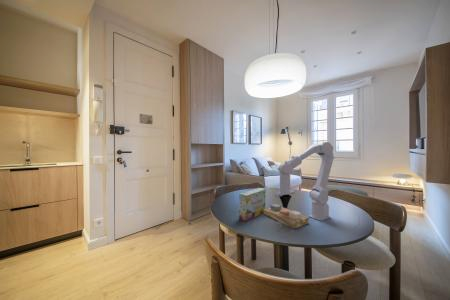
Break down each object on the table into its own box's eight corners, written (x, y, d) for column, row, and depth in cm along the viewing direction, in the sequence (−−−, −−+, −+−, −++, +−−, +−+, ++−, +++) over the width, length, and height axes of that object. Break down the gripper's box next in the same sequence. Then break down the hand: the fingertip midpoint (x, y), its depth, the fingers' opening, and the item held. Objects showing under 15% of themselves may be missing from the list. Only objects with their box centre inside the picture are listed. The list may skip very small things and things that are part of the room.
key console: (277, 210, 114) (277, 206, 114) (308, 223, 95) (308, 217, 95) (264, 214, 108) (263, 209, 108) (294, 228, 89) (294, 222, 89)
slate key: (275, 210, 111) (275, 203, 111) (281, 212, 107) (281, 205, 107) (270, 211, 108) (270, 205, 108) (276, 213, 105) (276, 207, 105)
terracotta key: (284, 216, 105) (284, 209, 105) (290, 218, 101) (290, 211, 101) (279, 217, 102) (279, 210, 102) (285, 220, 99) (285, 213, 99)
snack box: (246, 222, 97) (246, 195, 96) (238, 219, 100) (238, 193, 100) (265, 211, 112) (265, 188, 112) (258, 209, 116) (258, 187, 116)
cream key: (294, 217, 99) (294, 210, 98) (301, 220, 95) (301, 213, 95) (289, 219, 96) (289, 212, 96) (296, 222, 92) (296, 214, 92)
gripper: (287, 181, 108) (288, 203, 109) (270, 184, 101) (270, 207, 101) (297, 183, 102) (297, 206, 102) (280, 186, 95) (280, 211, 95)
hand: (285, 207), depth 101 cm, fingers closed
